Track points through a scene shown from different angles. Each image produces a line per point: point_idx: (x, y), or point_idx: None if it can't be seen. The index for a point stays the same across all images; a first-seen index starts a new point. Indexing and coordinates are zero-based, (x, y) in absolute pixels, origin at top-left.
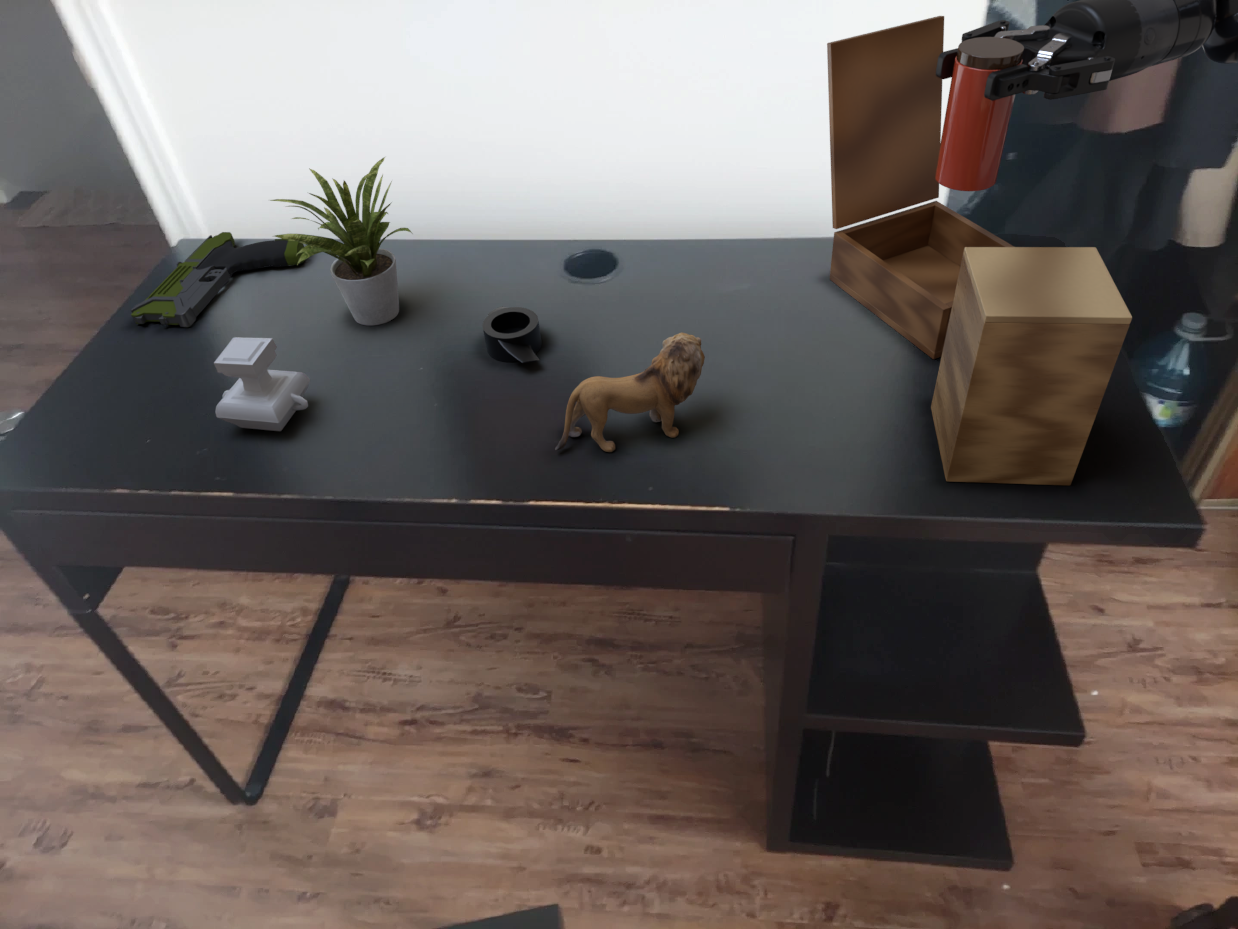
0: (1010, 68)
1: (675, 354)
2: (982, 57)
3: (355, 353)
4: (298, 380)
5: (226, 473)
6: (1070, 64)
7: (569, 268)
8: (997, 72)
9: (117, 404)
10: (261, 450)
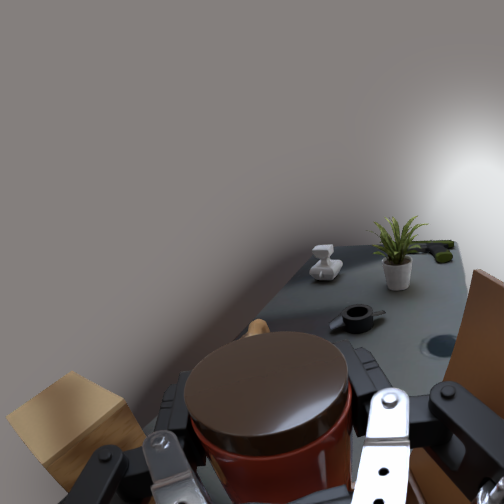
0: (184, 400)
1: (242, 336)
2: (222, 348)
3: (366, 286)
4: (328, 270)
5: (300, 276)
6: (94, 490)
7: (440, 337)
8: (186, 375)
9: (348, 254)
10: (309, 279)
